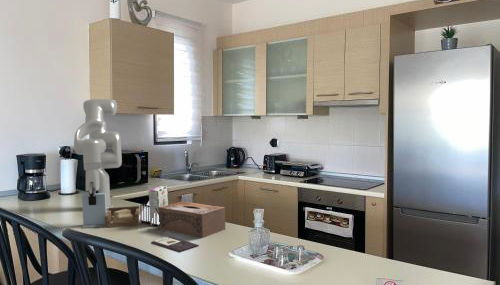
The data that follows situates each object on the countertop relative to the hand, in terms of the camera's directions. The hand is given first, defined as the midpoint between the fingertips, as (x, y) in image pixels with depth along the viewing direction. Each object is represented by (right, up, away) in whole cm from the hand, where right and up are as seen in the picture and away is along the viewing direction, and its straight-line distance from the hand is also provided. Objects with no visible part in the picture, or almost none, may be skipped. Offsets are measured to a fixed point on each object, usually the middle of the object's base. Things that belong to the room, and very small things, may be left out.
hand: (94, 202), depth 192 cm
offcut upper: (+13, -6, 0) cm, 15 cm away
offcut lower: (+13, -10, 0) cm, 17 cm away
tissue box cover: (+47, -10, -11) cm, 50 cm away
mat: (0, -10, +1) cm, 10 cm away
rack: (+12, -10, +3) cm, 16 cm away
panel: (0, -10, +1) cm, 10 cm away
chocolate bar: (+44, -12, -33) cm, 56 cm away
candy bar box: (+30, -10, +1) cm, 32 cm away
